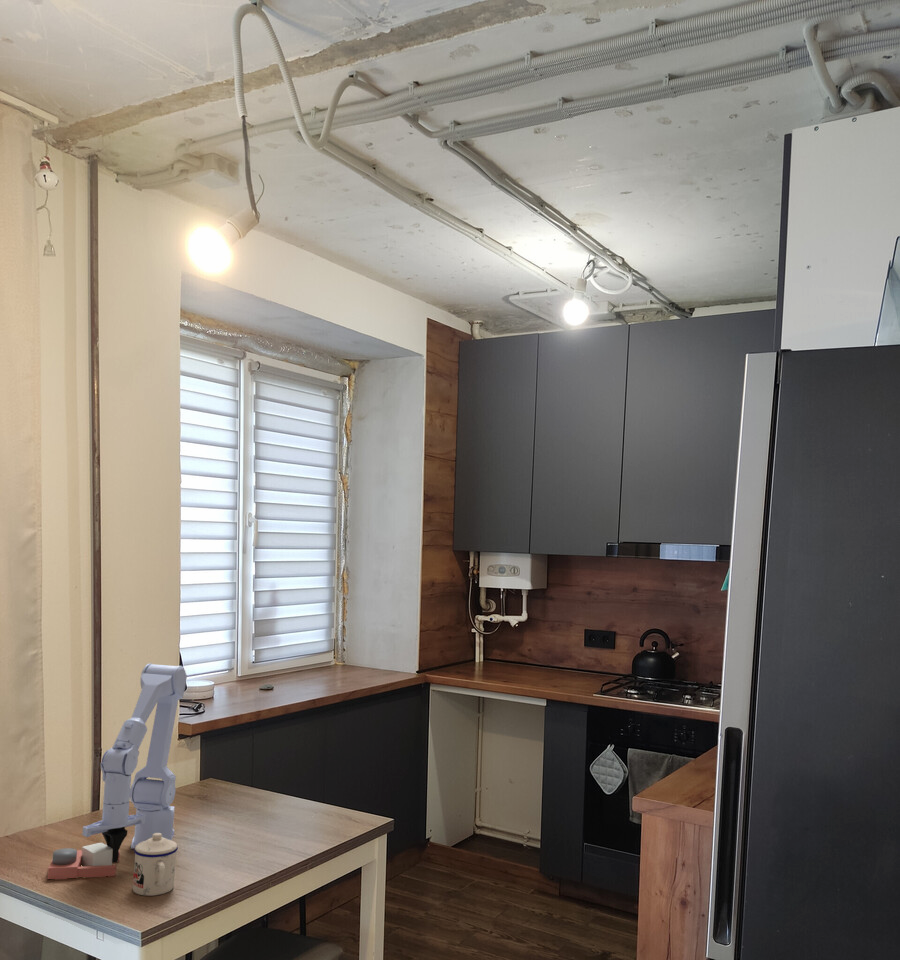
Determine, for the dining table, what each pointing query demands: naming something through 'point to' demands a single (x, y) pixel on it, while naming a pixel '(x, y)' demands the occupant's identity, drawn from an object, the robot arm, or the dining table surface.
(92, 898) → the dining table surface
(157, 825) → the robot arm
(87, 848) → the white rectangular block
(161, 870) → the teacup with lid
